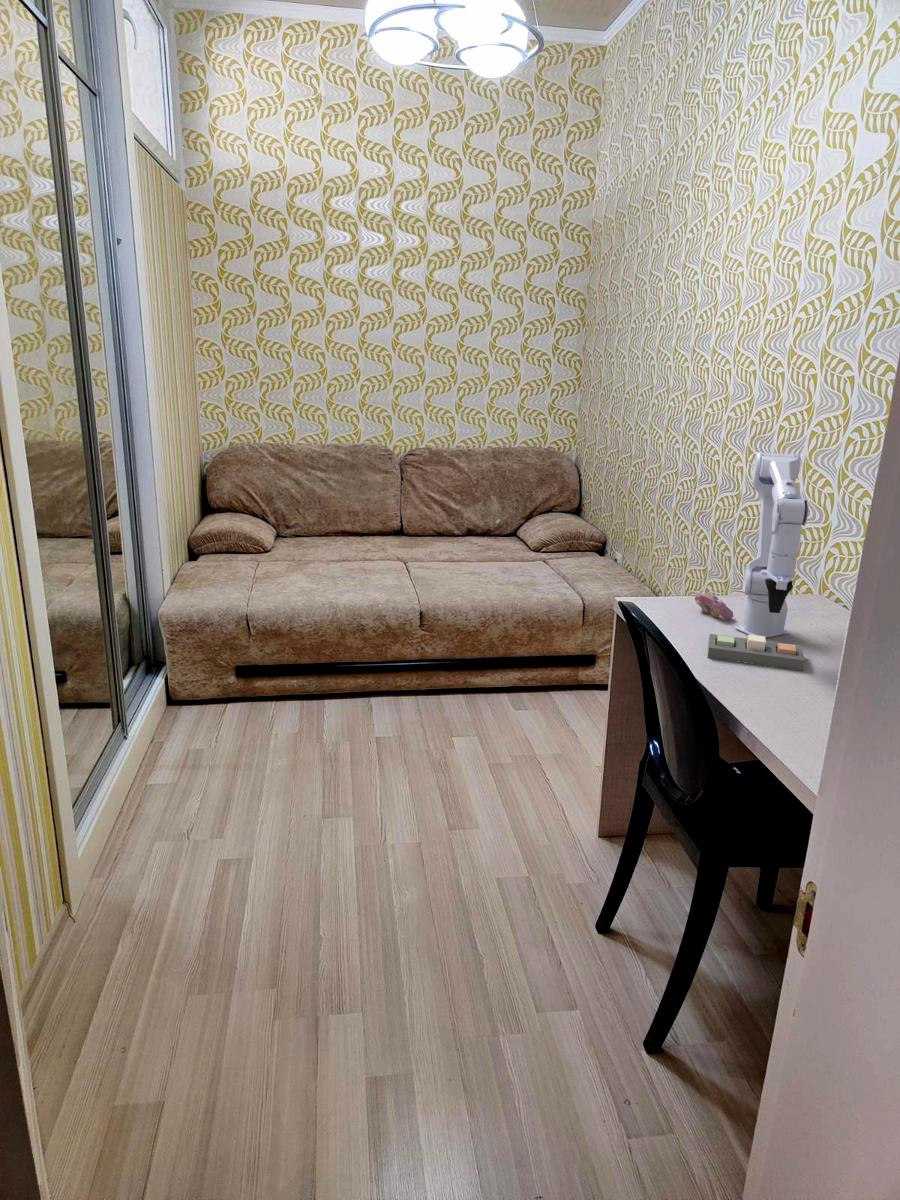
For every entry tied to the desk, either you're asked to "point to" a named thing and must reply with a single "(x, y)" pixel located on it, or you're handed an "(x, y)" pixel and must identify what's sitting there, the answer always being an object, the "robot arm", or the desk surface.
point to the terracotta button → (786, 649)
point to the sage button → (725, 641)
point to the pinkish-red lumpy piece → (713, 605)
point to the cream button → (756, 642)
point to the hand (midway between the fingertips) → (774, 612)
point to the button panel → (756, 654)
